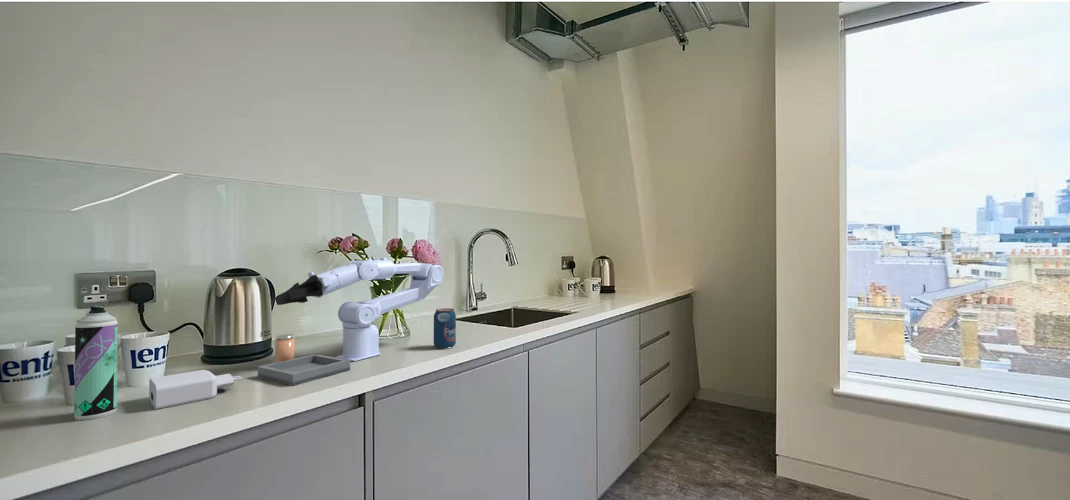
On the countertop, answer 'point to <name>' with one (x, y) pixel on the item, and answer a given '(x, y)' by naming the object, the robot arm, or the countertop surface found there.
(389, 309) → the robot arm
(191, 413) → the countertop surface
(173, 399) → the charger
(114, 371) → the spray can
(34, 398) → the countertop surface
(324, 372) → the tray
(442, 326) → the soda can
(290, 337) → the cylinder
